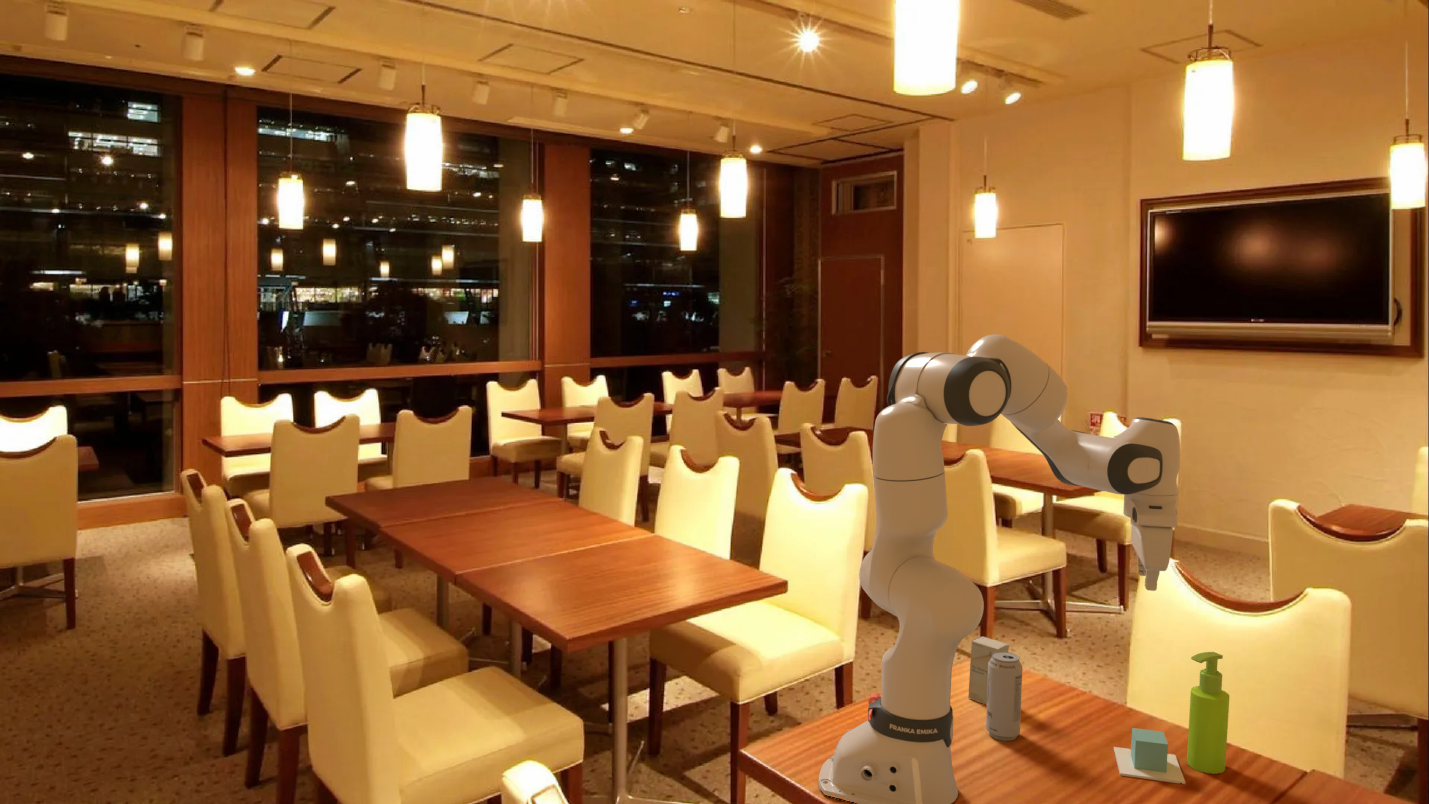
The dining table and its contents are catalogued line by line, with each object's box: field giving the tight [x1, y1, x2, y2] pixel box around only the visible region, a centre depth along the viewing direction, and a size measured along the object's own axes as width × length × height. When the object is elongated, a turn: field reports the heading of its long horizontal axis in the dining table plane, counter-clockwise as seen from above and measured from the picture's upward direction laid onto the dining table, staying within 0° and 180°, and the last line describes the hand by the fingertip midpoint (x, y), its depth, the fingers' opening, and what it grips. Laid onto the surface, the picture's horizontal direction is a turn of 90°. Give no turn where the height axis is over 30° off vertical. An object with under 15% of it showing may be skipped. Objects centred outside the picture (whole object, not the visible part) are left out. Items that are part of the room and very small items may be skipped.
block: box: [1130, 727, 1169, 773], centre depth 163 cm, size 5×5×5 cm
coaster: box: [1113, 746, 1186, 785], centre depth 163 cm, size 10×10×1 cm
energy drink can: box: [985, 651, 1023, 742], centre depth 174 cm, size 6×6×15 cm
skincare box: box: [967, 635, 1010, 706], centre depth 189 cm, size 6×4×12 cm
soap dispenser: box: [1186, 651, 1230, 775], centre depth 162 cm, size 6×7×20 cm
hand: (1146, 582), depth 171 cm, fingers open, 8 cm apart
